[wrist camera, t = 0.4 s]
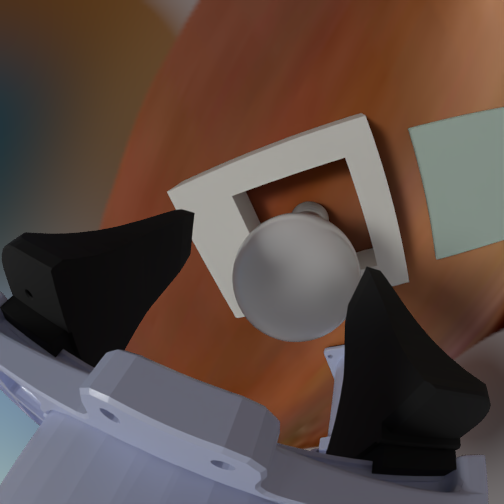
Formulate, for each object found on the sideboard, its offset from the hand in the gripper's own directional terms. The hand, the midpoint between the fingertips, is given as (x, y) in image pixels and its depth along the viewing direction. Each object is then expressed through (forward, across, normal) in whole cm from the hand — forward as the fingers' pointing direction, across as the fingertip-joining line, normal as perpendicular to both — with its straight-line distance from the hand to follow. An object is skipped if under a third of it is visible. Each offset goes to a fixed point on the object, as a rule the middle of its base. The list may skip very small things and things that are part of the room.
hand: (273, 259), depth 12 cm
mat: (+10, -12, -5) cm, 17 cm away
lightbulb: (+10, -1, +2) cm, 11 cm away
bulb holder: (+10, 0, +3) cm, 11 cm away
